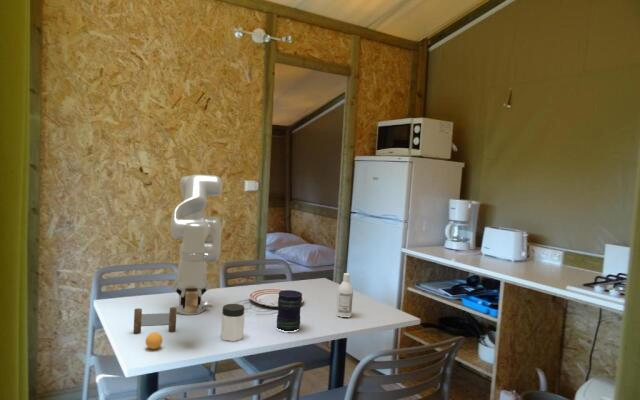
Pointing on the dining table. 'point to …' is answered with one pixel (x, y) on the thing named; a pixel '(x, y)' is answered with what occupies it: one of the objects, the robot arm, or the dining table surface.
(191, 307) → the block
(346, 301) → the bath foam
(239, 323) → the jar
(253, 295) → the dinner plate
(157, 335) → the ball
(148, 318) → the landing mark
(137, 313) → the left post
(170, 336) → the dining table surface
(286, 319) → the storage jar
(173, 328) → the right post
